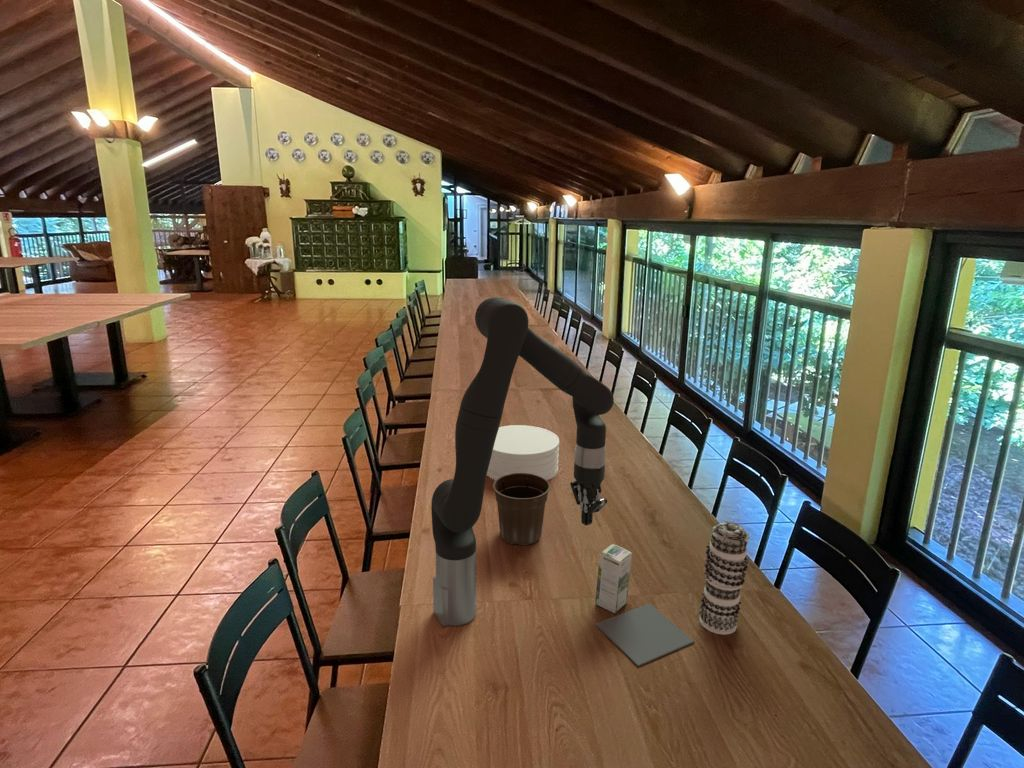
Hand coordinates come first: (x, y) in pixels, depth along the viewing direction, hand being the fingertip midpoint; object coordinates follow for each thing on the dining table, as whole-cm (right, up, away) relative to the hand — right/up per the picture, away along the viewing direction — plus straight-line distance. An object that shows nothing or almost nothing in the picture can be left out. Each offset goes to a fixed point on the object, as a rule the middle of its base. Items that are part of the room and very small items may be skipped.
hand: (586, 523), depth 155 cm
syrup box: (+5, -19, -5) cm, 20 cm away
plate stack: (-16, +4, +70) cm, 71 cm away
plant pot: (-16, -9, +25) cm, 31 cm away
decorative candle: (+29, -21, -11) cm, 38 cm away
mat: (+11, -22, -15) cm, 29 cm away
